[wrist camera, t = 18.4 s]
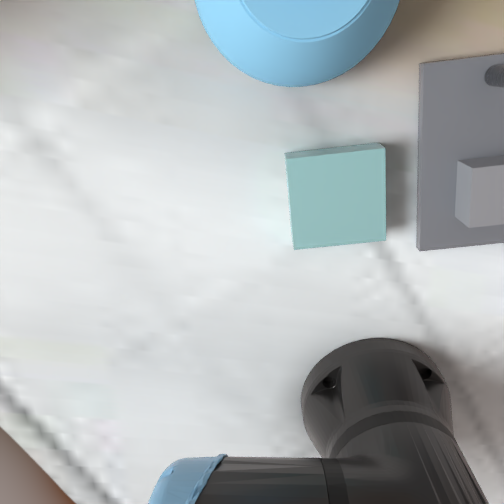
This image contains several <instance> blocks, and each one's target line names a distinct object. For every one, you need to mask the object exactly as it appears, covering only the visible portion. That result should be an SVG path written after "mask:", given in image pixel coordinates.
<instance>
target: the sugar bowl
mask: <svg viewBox="0 0 504 504" xmlns="http://www.w3.org/2000/svg"><path fill="white" fill-rule="evenodd" d="M399 1H400V0H195V3H196V7H197V10H198V13H199V17H200V19H201V21H202V23H203V26H204V28H205V30H206V32H207V34H208V35H209V37H210V39H211V40H212V42H213V43H214V45H215V46H216V47H217V49H218V50H219V51H220V53H221V54H222V55H223V56H224V57H225V58H226V59H227V60H228V61H229V62H230V63H231V64H233V65H234V66H235V67H237V68H238V69H239V70H240V71H242V72H244V73H245V74H247V75H249V76H251V77H253V78H255V79H257V80H260V81H262V82H265V83H269V84H273V85H277V86H286V87H303V86H309V85H315V84H319V83H322V82H325V81H328V80H331V79H333V78H335V77H337V76H339V75H342V74H343V73H345V72H346V71H348V70H350V69H351V68H353V67H354V66H355V65H356V64H358V63H359V62H360V61H361V60H363V59H364V58H365V57H366V56H367V54H368V53H369V52H370V51H371V50H372V49H373V48H374V47H375V46H376V44H377V43H378V42H379V40H380V39H381V38H382V36H383V35H384V33H385V31H386V30H387V28H388V26H389V25H390V23H391V21H392V19H393V16H394V14H395V12H396V10H397V7H398V4H399Z"/></svg>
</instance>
